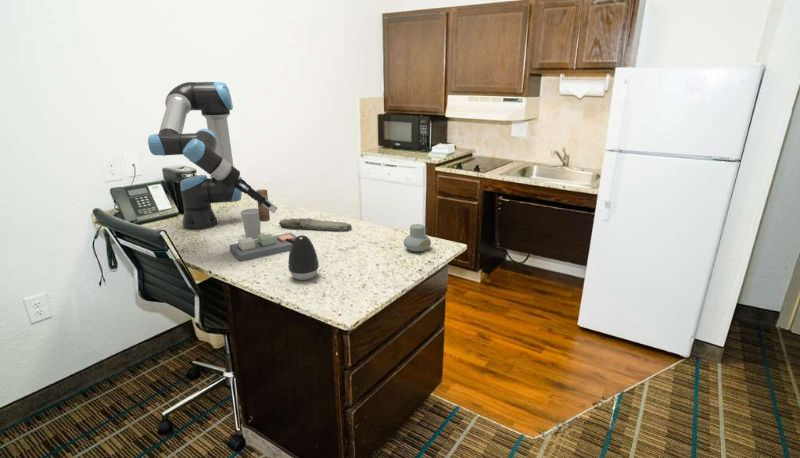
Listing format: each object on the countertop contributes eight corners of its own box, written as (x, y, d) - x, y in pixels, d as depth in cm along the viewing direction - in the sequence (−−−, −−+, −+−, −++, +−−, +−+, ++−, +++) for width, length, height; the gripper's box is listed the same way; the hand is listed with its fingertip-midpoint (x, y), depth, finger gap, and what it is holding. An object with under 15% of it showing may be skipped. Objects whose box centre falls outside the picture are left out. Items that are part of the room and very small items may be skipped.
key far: (278, 243, 179) (277, 236, 179) (289, 241, 182) (289, 234, 181) (282, 246, 176) (282, 239, 175) (294, 244, 178) (293, 237, 177)
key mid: (258, 242, 174) (258, 235, 174) (270, 240, 177) (270, 233, 176) (262, 246, 171) (262, 239, 170) (275, 243, 173) (274, 236, 172)
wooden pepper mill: (258, 219, 171) (254, 190, 168) (267, 218, 174) (265, 188, 170) (261, 222, 168) (258, 192, 164) (271, 220, 170) (268, 190, 167)
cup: (257, 240, 184) (254, 213, 180) (240, 239, 186) (236, 212, 182) (266, 234, 192) (263, 208, 188) (249, 233, 193) (246, 207, 189)
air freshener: (418, 243, 180) (419, 220, 177) (433, 248, 175) (434, 225, 172) (400, 250, 173) (400, 226, 170) (415, 255, 168) (415, 231, 164)
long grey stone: (347, 236, 194) (354, 231, 203) (348, 225, 192) (354, 220, 202) (275, 228, 199) (284, 223, 209) (274, 217, 198) (284, 212, 207)
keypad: (229, 250, 173) (229, 245, 172) (291, 238, 187) (290, 232, 186) (240, 261, 162) (239, 255, 161) (304, 247, 176) (304, 241, 176)
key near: (238, 246, 170) (237, 239, 169) (251, 244, 173) (250, 237, 172) (242, 250, 166) (241, 243, 165) (255, 247, 169) (254, 240, 168)
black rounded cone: (291, 271, 153) (287, 231, 149) (320, 270, 154) (318, 230, 149) (286, 284, 144) (282, 241, 139) (318, 282, 145) (315, 240, 140)
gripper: (212, 177, 163) (260, 212, 178) (224, 185, 150) (275, 222, 165) (225, 162, 165) (271, 197, 179) (238, 168, 152) (287, 206, 166)
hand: (273, 209), depth 172 cm, fingers closed on wooden pepper mill, 4 cm apart
